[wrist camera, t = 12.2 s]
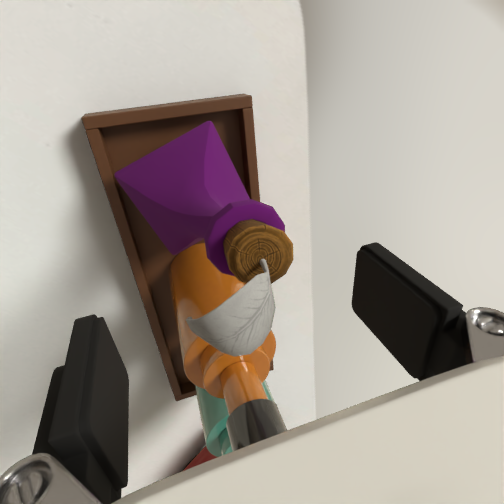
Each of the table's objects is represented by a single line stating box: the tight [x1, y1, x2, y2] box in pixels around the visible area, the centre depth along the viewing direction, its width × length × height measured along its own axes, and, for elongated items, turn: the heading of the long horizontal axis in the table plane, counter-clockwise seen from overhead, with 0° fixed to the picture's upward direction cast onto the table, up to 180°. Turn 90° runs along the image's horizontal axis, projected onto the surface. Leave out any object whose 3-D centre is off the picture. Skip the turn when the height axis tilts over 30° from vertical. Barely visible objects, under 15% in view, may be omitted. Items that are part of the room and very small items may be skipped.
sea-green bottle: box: [194, 380, 275, 457], centre depth 28 cm, size 6×6×18 cm
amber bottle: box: [169, 243, 287, 451], centre depth 23 cm, size 6×6×18 cm
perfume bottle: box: [114, 121, 293, 357], centre depth 19 cm, size 8×8×18 cm
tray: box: [82, 94, 273, 401], centre depth 31 cm, size 30×12×2 cm, turn 5°
